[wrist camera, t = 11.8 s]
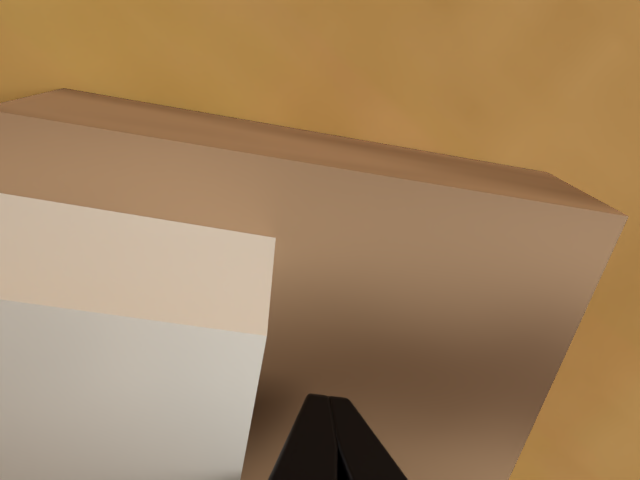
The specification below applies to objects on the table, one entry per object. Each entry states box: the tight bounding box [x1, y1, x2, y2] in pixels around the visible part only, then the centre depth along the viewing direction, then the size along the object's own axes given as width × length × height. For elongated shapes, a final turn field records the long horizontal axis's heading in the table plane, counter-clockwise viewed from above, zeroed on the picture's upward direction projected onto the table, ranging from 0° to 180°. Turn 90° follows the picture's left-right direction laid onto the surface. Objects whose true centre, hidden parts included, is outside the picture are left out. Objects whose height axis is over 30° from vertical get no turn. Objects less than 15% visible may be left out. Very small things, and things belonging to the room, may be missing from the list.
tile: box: [0, 193, 276, 480], centre depth 8 cm, size 6×6×3 cm
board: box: [0, 88, 628, 480], centre depth 11 cm, size 9×11×3 cm
